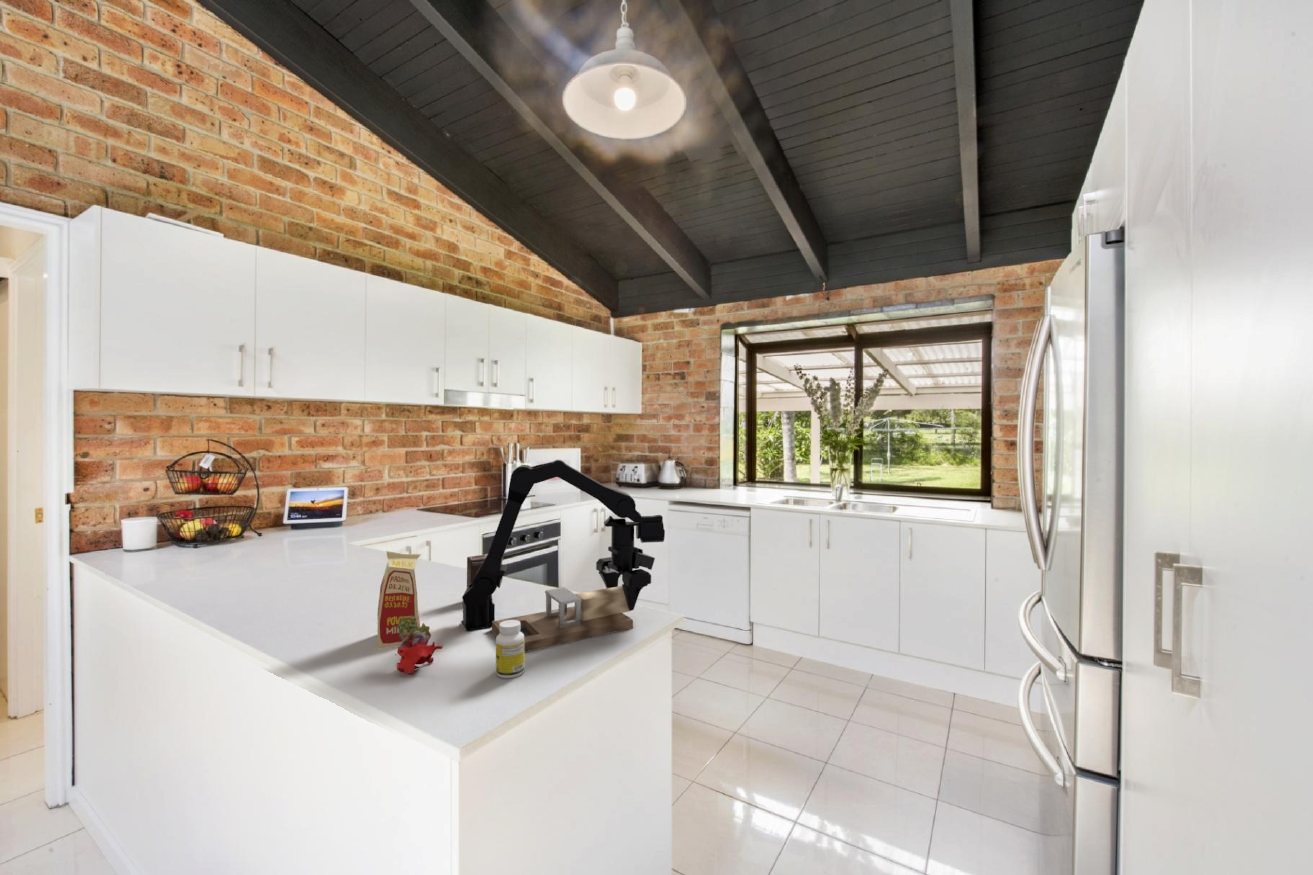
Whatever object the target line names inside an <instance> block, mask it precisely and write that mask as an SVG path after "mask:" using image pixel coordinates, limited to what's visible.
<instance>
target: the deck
mask: <svg viewBox="0 0 1313 875" xmlns="http://www.w3.org/2000/svg"><path fill="white" fill-rule="evenodd" d="M557 610H559V608H557V609H553V610H552V609H551V612H552V611H557ZM506 620H518V621H520V624H521V628H520V632H522V633H523V634H524V652H530V651H535V650H541V649H544V648H549V647H552V646H558V645H562V644H567V643H571V642H576V641H580V640H585V639H590V638H593V637H598V636H602V635H608V634H613V633H616V632H621V631H626V630H630V629H634V619H632V618H631V617H629V616H628V615H626V614H625V613H619V614H614V615H609V616H604V617H599V618H594V619H589V620H584V621H583V620H582V619H581V622H580V625H576V626H571V627H566V628H561V629H560V628H559V616H555V617H550V618H547V617H546V611H541V612H536V613H530V614H525V615H519V616H514V617H510V618H503V619H499V620H494V621H492V626H491V631H492V632H493V633H494V634H495V636H496V637H497V636H498V635H499V634H500V631H499V624H500V623H501V622H503V621H506ZM571 620H575V605H574V606H567V614H566V615H564V622H566V621H571Z"/></svg>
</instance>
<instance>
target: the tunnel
mask: <svg viewBox="0 0 1313 875" xmlns="http://www.w3.org/2000/svg"><path fill="white" fill-rule="evenodd" d="M544 593H545V612H546V617H547V618H550V617H555V616H559V628H560V629H561V628H566V627H571V626H576V625H580V622H581V598H580V597H578V596H577V595H575V594H576V593H574V592H572V591H570V590H569V589H567V588H566V587H560V588H553V589H547V590H545V591H544ZM552 600H554V601H555V602H557V603H558V609H559V610H557V609H556V610H557V611H552V612H551V610H552ZM568 604H574V606H575V620H571V621H566V622H564V615H566V614H567V607H568Z"/></svg>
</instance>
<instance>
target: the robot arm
mask: <svg viewBox="0 0 1313 875" xmlns="http://www.w3.org/2000/svg"><path fill="white" fill-rule="evenodd" d="M555 478H559V479H560V480H562V481H564V482H566V483H568V484H569V485H571V486H573V487H575V488H577V489H578V490H581V491H582V492H584V493H586V494H587V495H589V496H591V497H592V498H594V499H596V500H598V501H599V503H601V504H603V505H604V506H605V507H606V508H607V509H608V510H609V511H610V512H612V513H613V515H616V516H617V517H618V518H614V517H613V516H612V515H609V516H608V518H607V519H606V520H604V522H603V525H604V526H605V527H608V528H609V527H610V528H611V539H610V540H611V544H610V545H609V546H608V547H607V548H608V549H607V551H609V552H610V554H611V555H610V557H602V558H598V559H597V561H596V562H595V564H596V567H595V568H596V570H597V571H598V575H599V576H600V578H601V579H602V582H603V584H604V586H605V589H607V588H613V587H619V578H620V577H621V580H622V583H623V584H621V586H622V587H623V591H624V594H625V598H626V602H627V605H628V608H629V610H630V611H629V612H632V611H634V610H635V608H636V604H637V601H638V598H639V594H640V593H641V590H642V589H643V588H645V587H647V586H649V585H651V584H652V575H651V573H649V571H646V570H644V569H642V568H646V569H647V570H650V571H651V570H652V569H653V566H654V563H655V559H656V557H653V556H651V555H648V554H646V553H644V552H643V551H644V550H643V548H639V547H636V546H635V538H636V540H640V543H641V544H643V543H664V541H665V535H666V530H665V527H664V526H665V525H664V521H663V520H664V518H663V516H662V514H656V515H641V513H640V512H639V511H637V509H636V507H637V506H636V501H635V499H634V498H633V497H632V496H631V495H630V494H629V493H627V492H624V491H622V490H619V489H617V488H613V487H610V486H606V485H604V484H602V483H601V482H599V481H597V480H596V479H593V478H592V477H590V476H589V475H586V474H585V473H583V472H581V471H579V470H578V469H575V468H574V467H572V466H570V465H569V464H568V463H566V462H565V461H563V460H561V459H555V460H553V461H549V462H545V463H542V464H537V465H534V466H531V465H528V464H521V465H518V466H517V467H516V468H515V469H514V470H513V471H512V473H511V475H510V481H509V485H508V492H507V499H506V503H505V506H504V507H503V508H504V509H503V511H502V514H501V517H500V520H499V522H498V526H497V529H496V530H495V533H494V536H493V539H492V542H491V544H490V546H489V550H488V553H487V554H486V555H487V556H486V558H485V560H484V562H483V563H482V565H481V567H480V568H479V570H478V572H477V574H476V576H475V578H474V579H473V582H472V583H471V584H470V585H469V586H468V587H467V586H466V589H465V590H464V593H463V595H462V597H461V599H462V620H461V621H460V623H461V625H462V626H463V628H465V631H468V632H469V631H474V630H479V629H484V628H489V627H491V628H492V621H496V619H495V614H496V611H495V610H496V607H495V606H496V605H495V603H493V597H492V598H491V597H490V596H489V595H491V594H492V595H493V594H495V592H496V591H497V588H498V589H500V588H501V586H502V583H503V581H504V580H503V576H504V575H505V573H506V571H507V569H508V568H507V567H508V565H507V564H503V561H504V555H505V552H506V550H507V547H508V544H509V541H510V539H511V535H512V533H513V531H514V528H515V524H516V522H517V519H518V517H519V514H520V511H521V508H522V505H523V504H524V502H525V500H526V499H527V497H528V495H529V494H530V492H531V490H532V489H533V487H534V486H535V485H536V484H539V483H542V482H545V481H548V480H551V479H555ZM627 518H628V519H629V520H630V521H626V520H627ZM635 536H636V537H635ZM640 567H641V568H640Z"/></svg>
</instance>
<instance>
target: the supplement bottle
mask: <svg viewBox="0 0 1313 875" xmlns="http://www.w3.org/2000/svg"><path fill="white" fill-rule="evenodd" d="M520 628H521V624H520V621H518V620H506V621H503V622H501V623H500V624H499V631H500V634H499V635H498V636H497V635H496V638H495V669H496V671H495V673H496V675H497V676H498V677H499V678H502V679H513V678H517V677H519V676H521V675H523V674H524V672H525V669H526V668H525V667H526V666H525V664H526V662H525V661H526V660H525V657H526V656H525V652H524V634H523V633H522V632H520Z"/></svg>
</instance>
